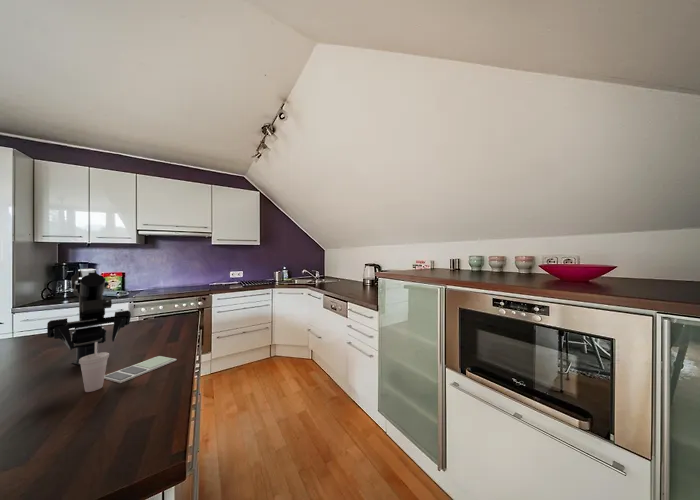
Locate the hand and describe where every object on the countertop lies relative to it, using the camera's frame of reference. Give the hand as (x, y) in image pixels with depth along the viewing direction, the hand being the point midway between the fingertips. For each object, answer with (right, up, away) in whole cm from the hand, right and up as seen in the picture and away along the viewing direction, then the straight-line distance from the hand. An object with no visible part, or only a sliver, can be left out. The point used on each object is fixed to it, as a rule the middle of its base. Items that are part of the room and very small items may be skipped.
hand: (93, 344), depth 77 cm
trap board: (+8, -12, +9) cm, 17 cm away
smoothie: (+4, -12, -4) cm, 13 cm away
